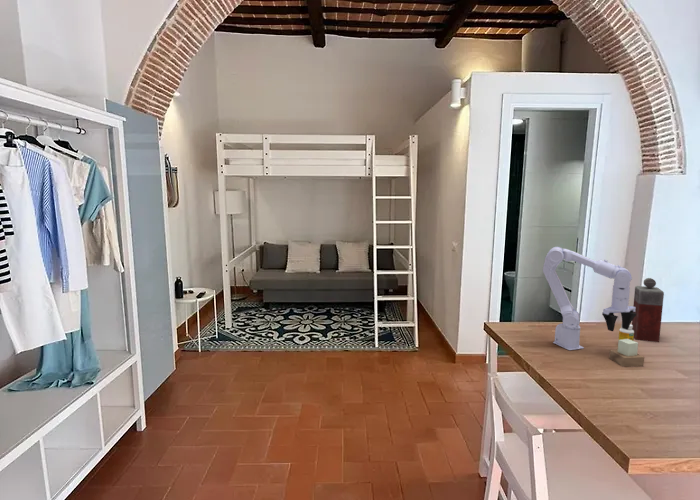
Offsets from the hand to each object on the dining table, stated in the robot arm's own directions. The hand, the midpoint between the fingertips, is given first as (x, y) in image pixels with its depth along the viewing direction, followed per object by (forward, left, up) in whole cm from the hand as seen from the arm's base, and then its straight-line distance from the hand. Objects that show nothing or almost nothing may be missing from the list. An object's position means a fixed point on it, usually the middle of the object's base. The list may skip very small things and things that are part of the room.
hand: (617, 329), depth 164 cm
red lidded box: (-12, +30, -11) cm, 34 cm away
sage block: (+8, -4, -7) cm, 11 cm away
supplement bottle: (-6, +12, -11) cm, 17 cm away
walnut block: (+8, -4, -11) cm, 14 cm away
